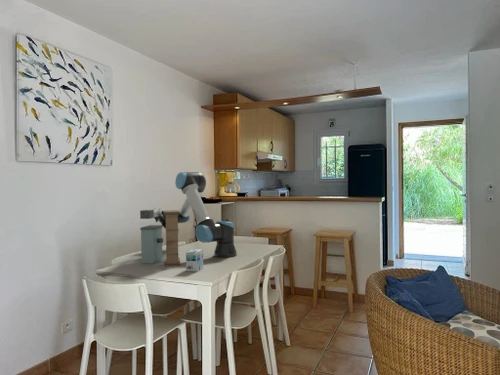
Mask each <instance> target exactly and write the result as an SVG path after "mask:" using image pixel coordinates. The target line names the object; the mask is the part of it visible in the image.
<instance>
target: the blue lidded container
mask: <svg viewBox="0 0 500 375" xmlns="http://www.w3.org/2000/svg"><path fill="white" fill-rule="evenodd" d="M163 228H164V227H163V225H162V224H155V225H154V224H150V225H145V226H142V227H140V229H139V230H140V241H141V243H140V246H141V248H140V249H141V250H140V251H141V252H140V253H141V254H140V255H141V263H142V264H155V263H157V262H159V261H161V260H163V243H164V238H163Z"/></svg>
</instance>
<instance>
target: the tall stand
mask: <svg viewBox="0 0 500 375" xmlns="http://www.w3.org/2000/svg"><path fill="white" fill-rule="evenodd" d="M163 211H164V216H166V229H165V254H166V255H165V256H166V258H165V260H164V267H170V266H171V267H172V266H181V259H180V257H179V234H178V229H179V227H178V226H179V223H178V215H179V211H180V210H179V209H177V210H176V209H175V210H174V209H173V210H172V209H171V210H163Z"/></svg>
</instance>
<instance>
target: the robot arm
mask: <svg viewBox="0 0 500 375" xmlns="http://www.w3.org/2000/svg"><path fill="white" fill-rule="evenodd" d="M174 182H175V187H176V189H178V190H181V192H182V194H183V195H185V196H186V199H185V200H184V202H183V204H182V206H181V208H180V210H179V215H178V224H185V223H188V222H190V218H191V217H190V216H191V215H190V213H191V212H192V213H193V215H194V218H195V220H196V227H195V236H196V239H197V240H198V241H199V242H201V243H208V244H209V243H212V242H213V243H214V242H216V245H215V248H214V252H213V253H214V254H213V255H214V257H216V258H217V257H218V258H231V257H236V256H237V252H238V251H237V249H236V246H235V239H234V238H235V236H234V235H235V234H234V232H235V229H234V223H233V222H232V221H221V220H217V221H216V222H214V219H213V218H211V217H210V216H209V213H208V212H207V208H206V207H205V203H204V202H203V200H202V198H201V194H202V193H203V192H204V191H205V189H206V186H207V180H206V177H205V175H203V173H201V172H198V171H195V172H194V171H193V172H191V171H181V172H178V173H177V174H176V177H175V181H174ZM152 210H153V212H156V211H158V212H159V213H160V214H161V216H158V217H154V218H153V219H154V220H155V222H156V223H157V222H159V223H161V224H160V225H163V227H162V228H164V229H165V230H166V216H164V211H165V210H162V208H161V207H158V210H157V209H156V208H155V207H153V209H152ZM179 233H180V229H179V228H178V235H179Z"/></svg>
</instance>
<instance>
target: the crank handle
mask: <svg viewBox="0 0 500 375" xmlns="http://www.w3.org/2000/svg"><path fill="white" fill-rule="evenodd" d="M153 210H154V209H142V210H140V211H139V216H140V218H139V219H141V220H152V219H154V217H158V216H161V214H160V213H159V212H158V211H159V210H157V211H156V212H153Z"/></svg>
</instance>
